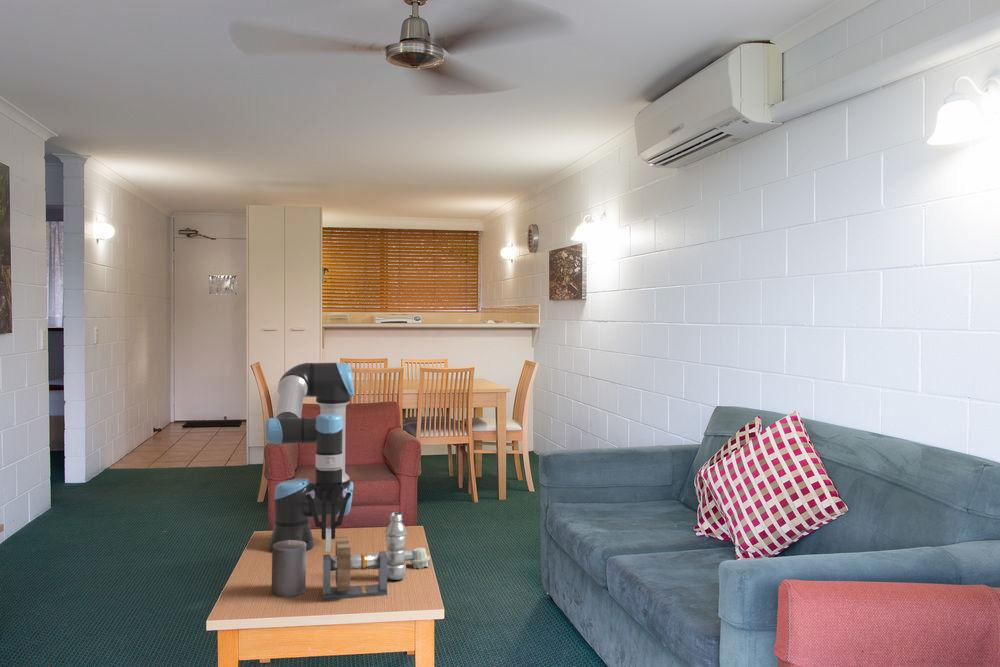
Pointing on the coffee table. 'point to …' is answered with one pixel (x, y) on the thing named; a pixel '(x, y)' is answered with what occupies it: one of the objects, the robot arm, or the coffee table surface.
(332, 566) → the rail stand
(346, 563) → the slotted tan block
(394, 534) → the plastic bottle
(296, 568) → the pillar candle
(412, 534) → the coffee table surface
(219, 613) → the coffee table surface
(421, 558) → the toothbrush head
